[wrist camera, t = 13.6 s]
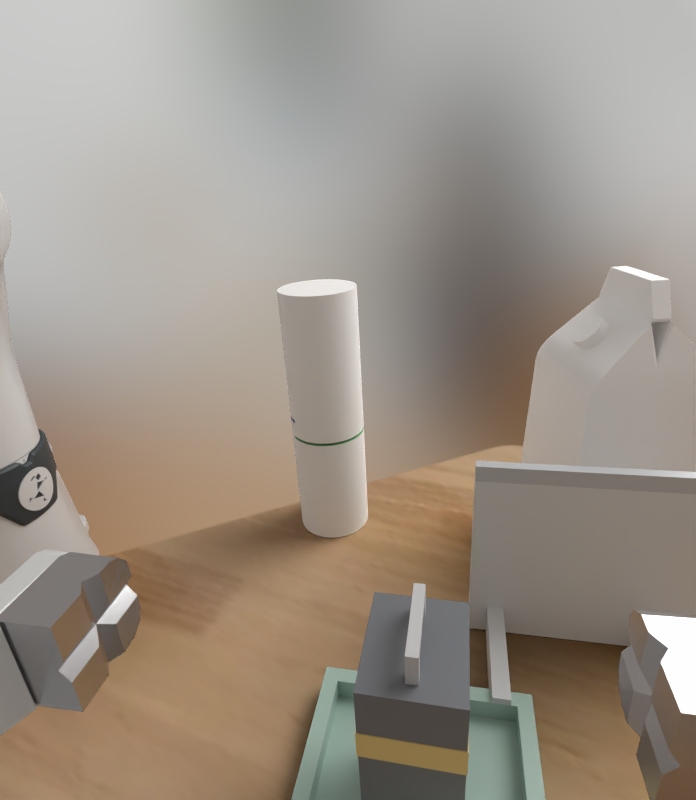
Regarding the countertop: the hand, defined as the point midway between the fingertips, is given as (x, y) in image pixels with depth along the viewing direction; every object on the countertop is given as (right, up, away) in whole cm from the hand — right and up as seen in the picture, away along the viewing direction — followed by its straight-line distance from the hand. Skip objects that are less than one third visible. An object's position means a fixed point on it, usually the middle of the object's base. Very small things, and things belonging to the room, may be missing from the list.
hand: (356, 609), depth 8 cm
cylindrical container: (-1, -9, +48) cm, 49 cm away
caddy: (+4, -20, +22) cm, 30 cm away
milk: (+24, -11, +42) cm, 50 cm away
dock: (+17, -17, +29) cm, 37 cm away
